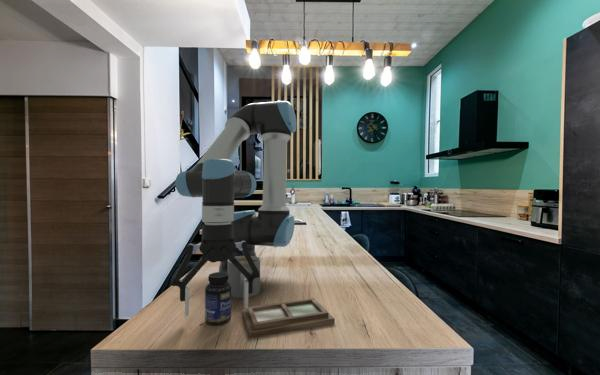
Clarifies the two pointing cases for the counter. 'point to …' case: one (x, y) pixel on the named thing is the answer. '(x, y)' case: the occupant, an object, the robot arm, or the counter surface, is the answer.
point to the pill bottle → (218, 299)
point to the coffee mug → (242, 277)
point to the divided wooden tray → (285, 317)
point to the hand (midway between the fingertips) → (217, 310)
